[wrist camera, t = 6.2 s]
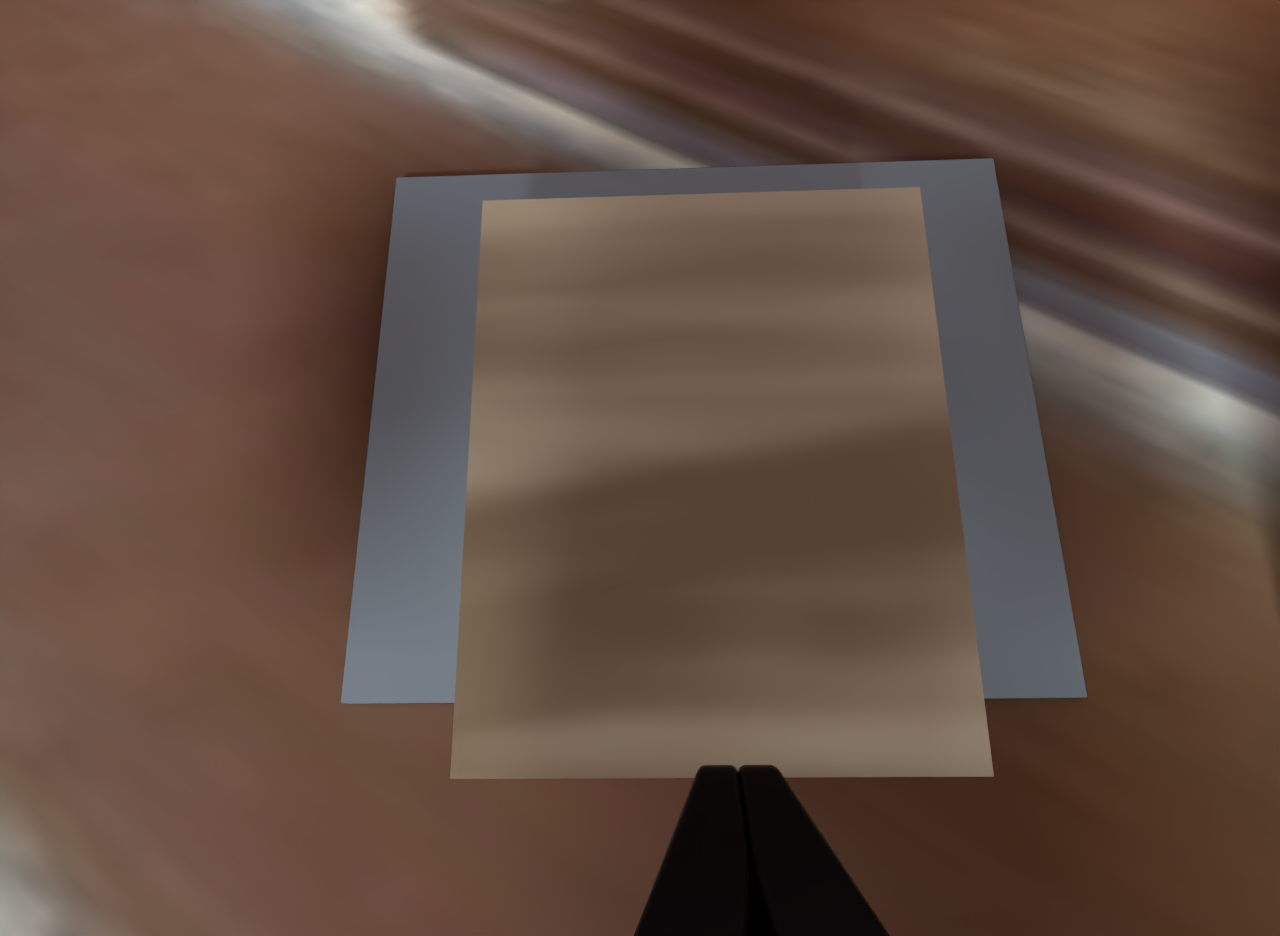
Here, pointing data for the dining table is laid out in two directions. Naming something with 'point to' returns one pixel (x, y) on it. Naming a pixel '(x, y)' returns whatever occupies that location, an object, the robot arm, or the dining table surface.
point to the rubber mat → (442, 392)
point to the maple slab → (712, 495)
